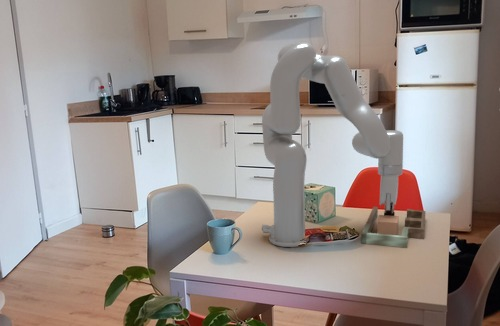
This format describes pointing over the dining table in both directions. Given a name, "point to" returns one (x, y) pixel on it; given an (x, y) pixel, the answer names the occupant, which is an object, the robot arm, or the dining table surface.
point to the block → (387, 225)
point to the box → (411, 230)
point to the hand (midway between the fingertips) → (389, 224)
